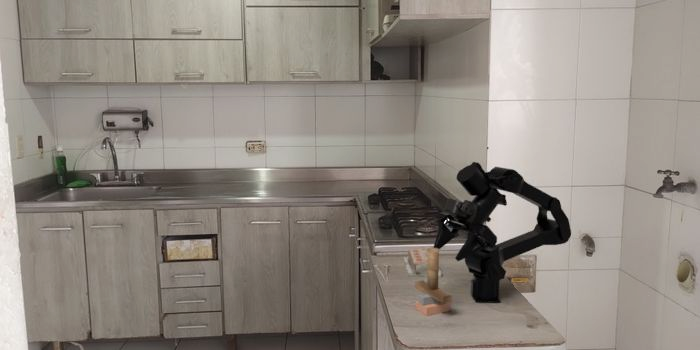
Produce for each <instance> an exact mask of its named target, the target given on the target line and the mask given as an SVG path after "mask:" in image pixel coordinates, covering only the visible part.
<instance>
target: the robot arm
mask: <svg viewBox="0 0 700 350" xmlns="http://www.w3.org/2000/svg"><path fill="white" fill-rule="evenodd" d="M456 181H457V182H458V183H459V185H461V186H462V187H463V189H464V190H465V191H466V192H467V193H468V194H469V196H472V197H473V196H474V197H473V199H472V200H467V199H465V200H464V201H459V200H456V199H453V198H447V201H446V203H445V206H444V209H443V210H444V211H443V212H438V213H437V215H436V216H435V217H434V220H435V222H436V224H437V227H438V231H437V236H436V239H435V242H434V244H433V247H432V248H438V249H439V250H441V249H442V248H443V247H444V246H446V245H447V244H448V243H449V242H451V241H452V240H453V239H454V238H455V237H456V234H457V233H459V232H460V231H461V232H463V233H466V234H467V236H466V237H467V238H466V240H465V242H464V243H463V245H462V246H461V248H460V249H459V251H458V252H457V254H456V256H455V260H456V261H457V262H460V261H461V260H464V263H465V266H466V267H467V269H468V272H469V273H470V274H472V275H473V276H472V279H471V280H470V295H471V297H472V298H473V300H474V302H476V303H501V299H500V281H501V280H505V277H506V274H507V270H506V269H505V268H504V267H503V264H504V263H505V262H506V261H509V260H510V259H513V258H516V257H518V256H520V255H523V254H526V253H528V252H530V251H533V250H535V249H538V248H540V247H542V246H558V245H564V244H566V243H568V241H570V238H571V235H572V230H571V224H570V219H569V218H568V216H567V215H566V213H565V212H564V210H563V209H562V204H561V200H560V199H559V198H557V197H554V196H552V195H550V194H549V193H547V192H544V191H542V190H540V188H538V187H536V186H533V185H532V184H530V183H528V182H526V180H525V179H524V177H523V176H522V174H520V173H519V172H518V171H517V170H515V169H514V168H513V169H512V168H507V167H500V166H494V167H492V169H490V171H485V170H484V169H483V167H482V165H481V163H479V162H476V161H472V163H470V164H469V165H467V166H465V167H463V168H462V169H460V170H459V171H458V172H457V175H456ZM500 191H503V192H507V193H512V194H514V195H516V196H518V197H519V198H521V199H523V200H525V201H527V202H529V203H531V204H532V205H534V206H536V207H537V209H538V212H537V216H536V225H535V226H534V227H533V230H530V231H528V232H525V233H523V234H520V235H517V236H515V237H512V238H509V239H507V240H504V241H502V242H500V243H498V237H497V235H496V234H495V233H494V232H493V231H492V229H491V228H490V227H489V225H485V222H486V223H487V222H488V223H490V222H491V220H492V218H491V217H490V216H491V214H493V212H494V211H495V210H496V208H497V206H499V205H502V206H505V207H507V205H508V203H507V199H506V197H507V196H506V194H503V193H501V192H500ZM447 212H449V213H447ZM548 212H550V214H551V216H552V218H553V219H551V218H548ZM452 214H454V215H453V216H452Z"/></svg>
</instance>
